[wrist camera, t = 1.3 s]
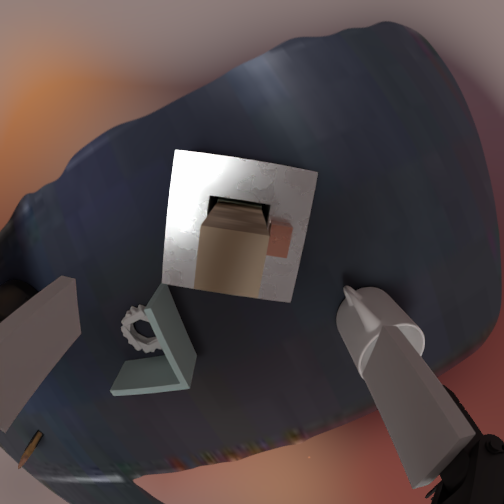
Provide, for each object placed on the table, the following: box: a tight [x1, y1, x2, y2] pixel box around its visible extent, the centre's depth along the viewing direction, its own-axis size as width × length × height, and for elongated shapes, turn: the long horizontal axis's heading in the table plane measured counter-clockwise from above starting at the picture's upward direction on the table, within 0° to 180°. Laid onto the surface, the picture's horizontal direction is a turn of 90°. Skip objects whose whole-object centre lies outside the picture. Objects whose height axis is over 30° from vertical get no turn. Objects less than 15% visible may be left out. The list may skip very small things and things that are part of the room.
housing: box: [162, 150, 318, 303], centre depth 31 cm, size 14×14×8 cm
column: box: [194, 197, 270, 298], centre depth 27 cm, size 5×5×16 cm
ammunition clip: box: [18, 430, 44, 469], centre depth 45 cm, size 11×2×12 cm, turn 136°
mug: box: [336, 286, 425, 379], centre depth 34 cm, size 9×12×11 cm
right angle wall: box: [110, 283, 197, 396], centre depth 36 cm, size 12×12×8 cm
